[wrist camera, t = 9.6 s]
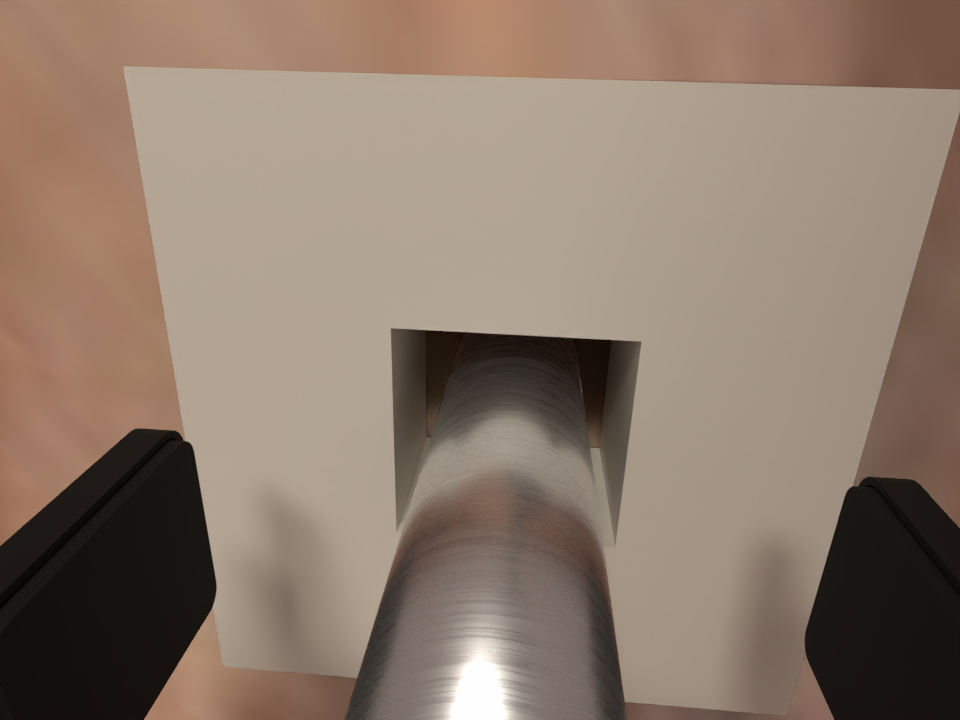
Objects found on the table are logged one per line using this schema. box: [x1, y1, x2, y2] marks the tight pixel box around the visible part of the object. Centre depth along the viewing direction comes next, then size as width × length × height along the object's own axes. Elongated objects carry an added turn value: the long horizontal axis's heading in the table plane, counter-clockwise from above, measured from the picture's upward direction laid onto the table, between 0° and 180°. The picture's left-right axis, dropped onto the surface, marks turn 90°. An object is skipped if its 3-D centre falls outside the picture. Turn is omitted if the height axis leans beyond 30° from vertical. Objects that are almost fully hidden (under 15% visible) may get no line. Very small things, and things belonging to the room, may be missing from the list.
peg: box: [345, 332, 627, 720], centre depth 11 cm, size 3×3×12 cm
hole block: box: [123, 67, 960, 716], centre depth 15 cm, size 13×13×4 cm
